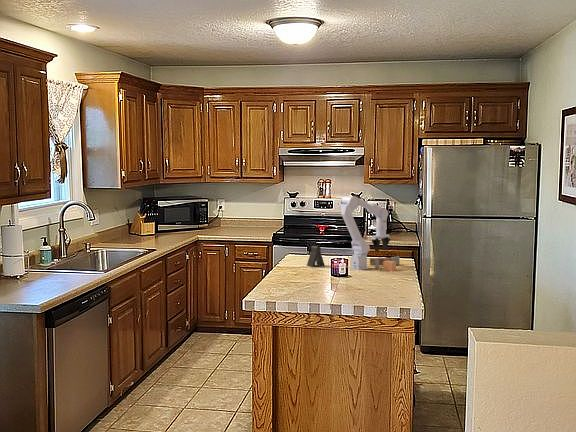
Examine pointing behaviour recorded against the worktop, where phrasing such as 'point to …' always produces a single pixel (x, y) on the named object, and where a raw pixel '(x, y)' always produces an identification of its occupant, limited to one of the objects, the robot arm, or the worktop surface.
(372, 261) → the gate door
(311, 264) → the phone stand
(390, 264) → the terracotta rectangular block
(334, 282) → the worktop surface
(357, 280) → the worktop surface
